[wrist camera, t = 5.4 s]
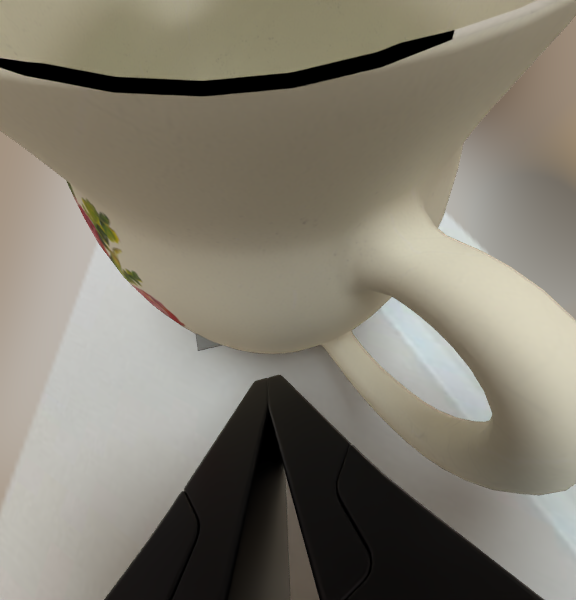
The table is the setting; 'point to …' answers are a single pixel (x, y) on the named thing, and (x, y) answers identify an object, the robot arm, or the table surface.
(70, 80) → the pitcher
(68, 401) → the table surface
